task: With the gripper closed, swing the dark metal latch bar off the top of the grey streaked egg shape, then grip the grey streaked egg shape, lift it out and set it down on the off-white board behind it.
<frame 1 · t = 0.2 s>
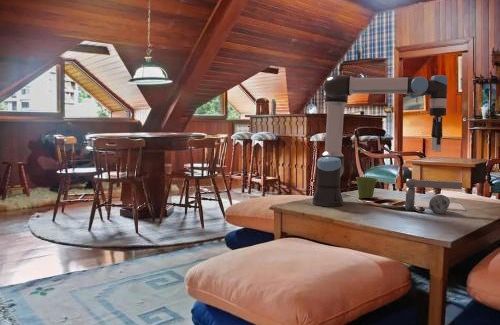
hand: (435, 151, 222), 28 cm above the table, fingers open, 13 cm apart
latch bar: (433, 184, 212), point 13 cm above the table, hinge at 0.0°
grey streaked egg shape: (438, 212, 212), on the table
plant pot: (365, 198, 248), on the table
latch post: (409, 209, 216), on the table
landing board: (438, 206, 227), on the table
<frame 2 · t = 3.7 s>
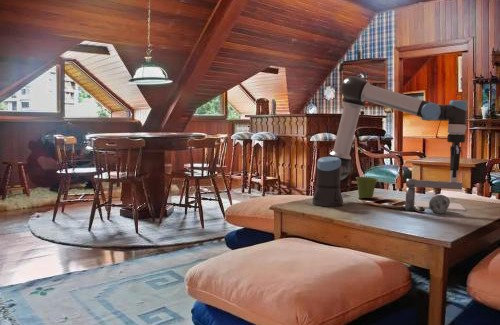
hand: (453, 184, 211), 13 cm above the table, fingers closed
latch bar: (433, 184, 212), point 13 cm above the table, hinge at -1.9°, touching gripper
everything else where it was.
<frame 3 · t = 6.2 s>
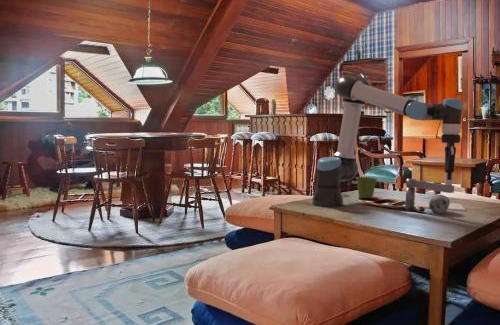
hand: (448, 186, 200), 13 cm above the table, fingers closed
latch bar: (428, 185, 206), point 13 cm above the table, hinge at -44.6°, touching gripper
everything else where it was.
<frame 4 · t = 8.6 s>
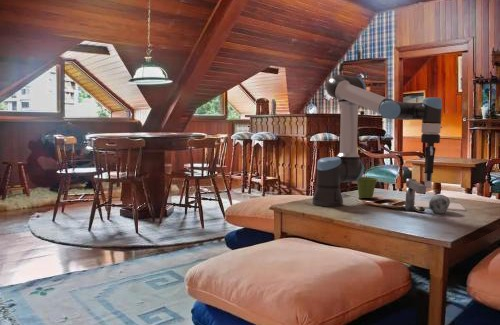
hand: (427, 188, 196), 13 cm above the table, fingers closed
latch bar: (415, 185, 205), point 13 cm above the table, hinge at -82.2°, touching gripper
everything else where it was.
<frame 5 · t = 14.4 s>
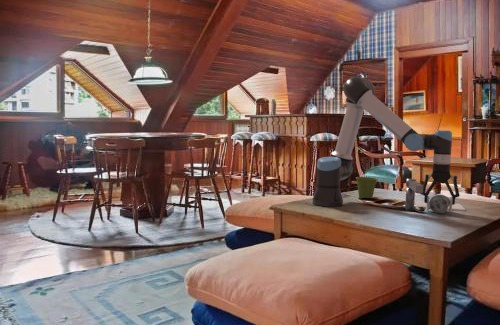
hand: (438, 210, 212), 1 cm above the table, fingers closed on grey streaked egg shape, 9 cm apart
latch bar: (414, 185, 205), point 13 cm above the table, hinge at -85.0°
grey streaked egg shape: (438, 212, 212), on the table, touching gripper
everything else where it was.
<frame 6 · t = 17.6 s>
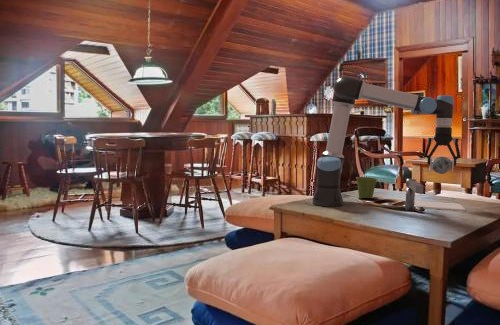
hand: (441, 171, 225), 18 cm above the table, fingers closed on grey streaked egg shape, 9 cm apart
grey streaked egg shape: (440, 173, 225), point 17 cm above the table, touching gripper
everything else where it was.
when the fingers open (2 cm above the table, at t = 21.1 s): grey streaked egg shape stays where it is, resting on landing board.
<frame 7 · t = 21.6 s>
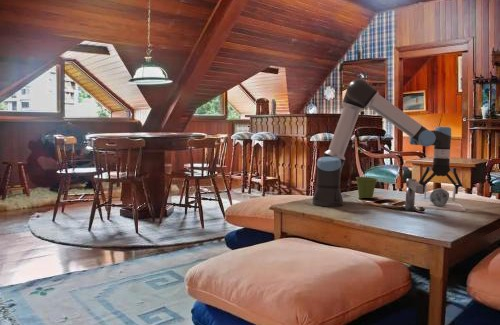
hand: (439, 199, 227), 4 cm above the table, fingers open, 13 cm apart
grey streaked egg shape: (438, 205, 227), point 1 cm above the table, touching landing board
everything else where it was.
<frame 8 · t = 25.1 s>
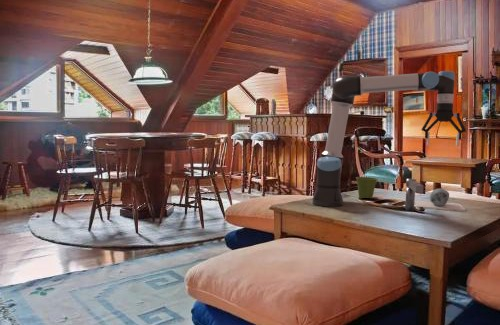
hand: (442, 145, 225), 31 cm above the table, fingers open, 13 cm apart
nothing on the table moved.
at the end: latch bar at -85° (first picture: +0°); grey streaked egg shape inside the target area (0.1 cm from its centre), point 0.6 cm above the table; the gripper is holding nothing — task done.
